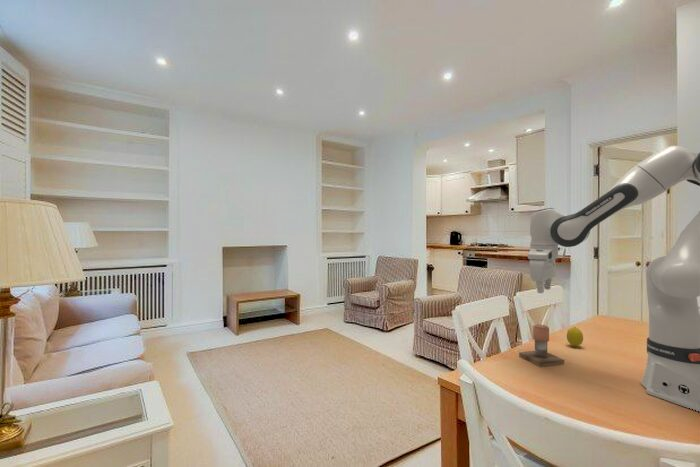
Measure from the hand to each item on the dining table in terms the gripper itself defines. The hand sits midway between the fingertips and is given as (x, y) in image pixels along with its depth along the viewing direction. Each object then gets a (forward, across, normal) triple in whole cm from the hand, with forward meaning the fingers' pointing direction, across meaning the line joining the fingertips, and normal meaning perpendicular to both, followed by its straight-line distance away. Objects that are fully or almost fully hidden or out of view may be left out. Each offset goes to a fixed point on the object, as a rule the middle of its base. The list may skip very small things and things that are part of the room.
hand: (544, 291), depth 124 cm
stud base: (+25, +2, -1) cm, 25 cm away
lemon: (+25, -22, +6) cm, 34 cm away
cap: (+17, +2, 0) cm, 17 cm away
